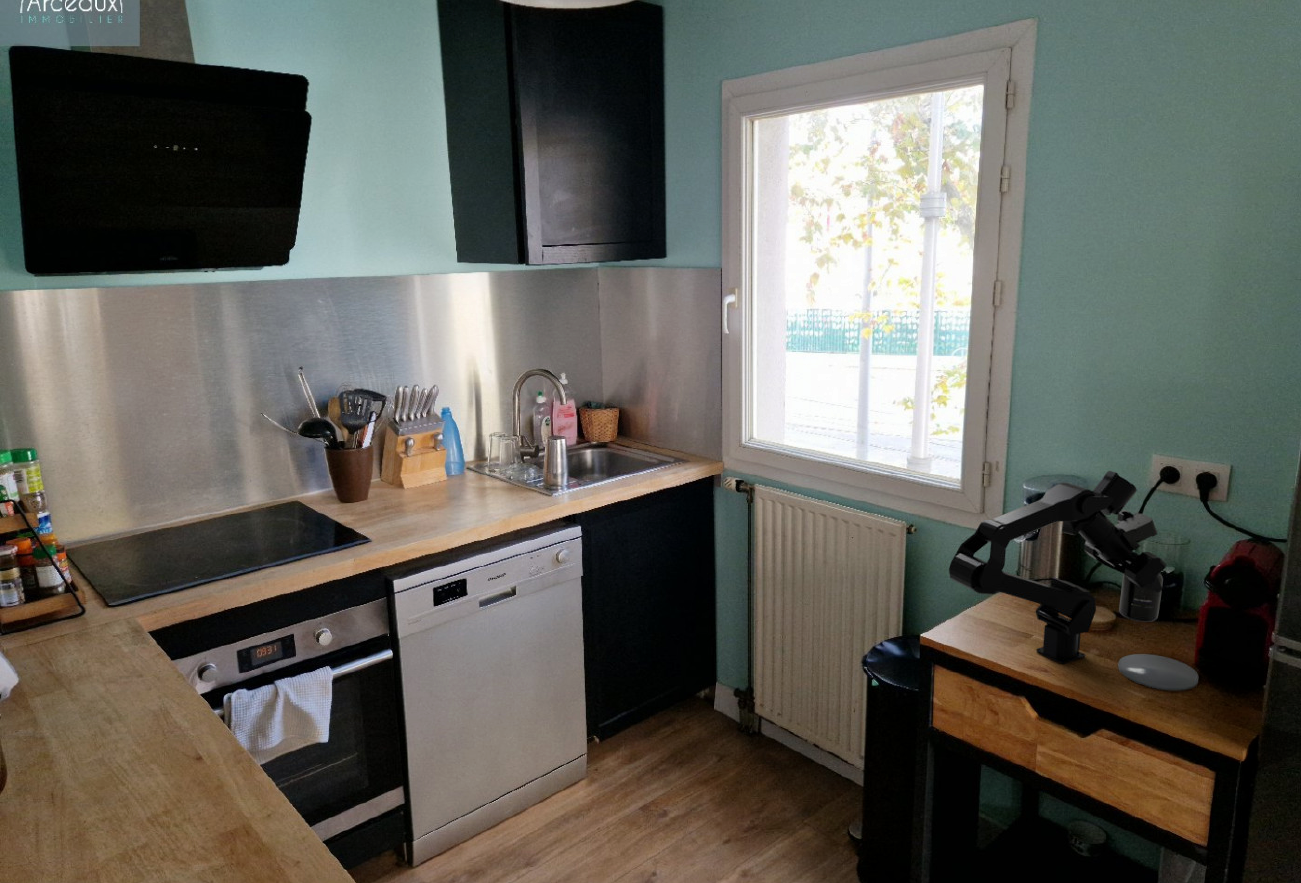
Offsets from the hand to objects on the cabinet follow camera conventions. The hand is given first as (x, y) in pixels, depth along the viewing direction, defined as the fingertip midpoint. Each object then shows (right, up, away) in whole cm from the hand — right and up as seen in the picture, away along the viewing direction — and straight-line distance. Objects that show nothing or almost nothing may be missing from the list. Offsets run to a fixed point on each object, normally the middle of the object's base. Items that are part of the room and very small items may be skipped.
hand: (1148, 583), depth 175 cm
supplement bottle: (-1, -7, +1) cm, 7 cm away
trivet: (-3, -15, -8) cm, 18 cm away
